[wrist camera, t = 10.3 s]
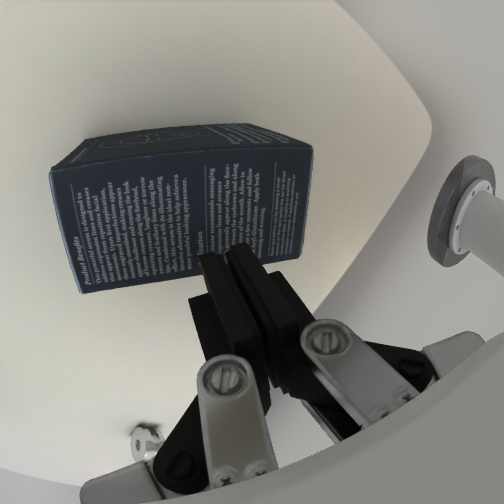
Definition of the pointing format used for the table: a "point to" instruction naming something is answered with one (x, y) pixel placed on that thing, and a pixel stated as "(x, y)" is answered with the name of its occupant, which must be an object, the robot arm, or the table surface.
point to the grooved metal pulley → (146, 443)
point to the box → (179, 201)
